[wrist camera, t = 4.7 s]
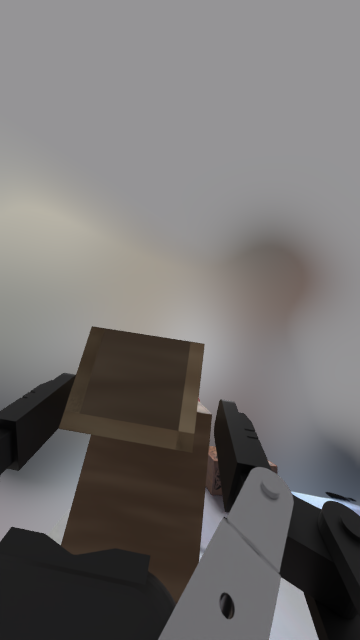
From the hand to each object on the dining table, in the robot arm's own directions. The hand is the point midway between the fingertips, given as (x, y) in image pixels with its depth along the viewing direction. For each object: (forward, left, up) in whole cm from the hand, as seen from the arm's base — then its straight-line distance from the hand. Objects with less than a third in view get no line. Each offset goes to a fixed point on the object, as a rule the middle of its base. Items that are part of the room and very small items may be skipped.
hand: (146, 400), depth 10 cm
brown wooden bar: (+5, -8, -1) cm, 10 cm away
